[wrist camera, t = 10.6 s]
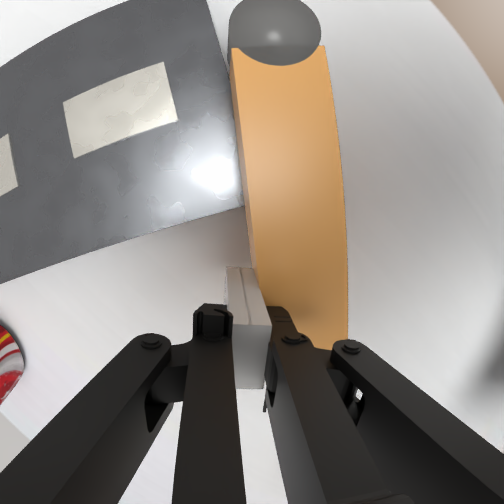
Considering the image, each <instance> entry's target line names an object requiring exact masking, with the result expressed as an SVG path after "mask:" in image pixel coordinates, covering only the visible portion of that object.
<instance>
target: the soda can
mask: <svg viewBox="0 0 504 504" xmlns="http://www.w3.org/2000/svg"><path fill="white" fill-rule="evenodd" d="M23 371H24V362H23V358H22V355H21V352H20V350H19V347H18V346H17V344H16V342H15V341H14V339H13V338H12V336H11V335H10V334H9V333H8V332H7V330H6V329H5V328H3V327H2V326H1V325H0V405H1V404H2V403H3V401H4V400H5V399H6V397H7V396H8V395H9V393H10V392H11V391H12V390H13V388H14V387H15V386H16V384H17V382H18V381H19V379H20V377H21V376H22V374H23Z"/></svg>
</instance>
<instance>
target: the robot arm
mask: <svg viewBox="0 0 504 504" xmlns="http://www.w3.org/2000/svg"><path fill="white" fill-rule="evenodd" d="M264 381H266V385H267V387H266V394H265V400H264V406H263V412H266V408H268V413H269V418H270V423H271V427H272V432H273V437H274V441H275V446H276V451H277V455H278V460H279V464H280V469H281V474H282V478H283V483H284V487H285V492H286V496H287V500H288V504H504V454H503V453H501V452H500V451H499V450H498V449H496V448H495V447H494V446H493V445H491V444H490V443H489V442H487V441H486V440H485V439H484V438H482V437H481V436H480V435H478V434H477V433H476V432H475V431H473V430H472V429H471V428H469V427H468V426H467V425H466V424H464V423H463V422H462V421H461V420H459V419H458V418H457V417H455V416H454V415H453V414H452V413H450V412H449V411H448V410H447V409H445V408H444V407H443V406H441V405H440V404H439V403H438V402H436V401H435V400H434V399H433V398H431V397H430V396H429V395H427V394H426V393H425V392H424V391H422V390H421V389H420V388H419V387H417V386H416V385H415V384H413V383H412V382H411V381H410V380H408V379H407V378H406V377H405V376H403V375H402V374H401V373H399V372H398V371H397V370H396V369H394V368H393V367H392V366H391V365H389V364H388V363H387V362H386V361H384V360H383V359H382V358H380V357H379V356H378V355H377V354H375V353H374V352H373V351H372V350H370V349H369V348H368V347H367V346H365V345H364V344H362V343H360V342H357V341H355V340H350V339H346V340H339V341H336V342H335V343H334V344H333V347H332V350H326V349H320V348H316V347H314V345H313V344H312V342H311V340H310V339H309V338H308V336H306V335H304V334H302V333H299V332H298V331H297V329H296V327H295V325H294V323H293V320H292V318H291V316H290V314H289V312H288V311H287V310H286V309H284V308H283V307H281V306H265V303H264V300H263V297H262V294H261V291H260V289H259V286H258V282H257V279H256V276H255V273H254V270H253V269H252V268H237V267H227V268H226V282H225V296H224V305H223V304H207V303H204V304H203V305H202V306H200V307H199V309H198V310H196V311H195V312H194V313H193V338H192V340H191V341H189V342H187V343H184V344H179V345H171V342H170V340H169V339H168V338H167V337H165V336H162V335H159V334H154V333H147V334H143V335H139V336H137V337H135V338H134V339H133V340H132V341H130V342H129V343H128V344H127V345H126V346H125V347H124V348H123V349H122V350H121V351H120V352H119V353H118V354H117V355H116V356H115V357H114V358H113V359H112V360H111V361H110V362H109V363H108V364H107V365H106V366H105V367H104V368H103V369H102V370H101V371H100V372H99V373H98V374H97V375H96V376H95V377H94V378H93V379H92V380H91V381H90V382H89V383H88V384H87V385H86V386H85V387H84V388H83V389H82V390H81V391H80V392H79V393H78V394H77V395H76V396H75V397H74V398H73V399H72V400H71V401H70V402H69V403H68V404H67V405H66V406H65V407H64V408H63V409H62V410H61V411H60V412H59V413H58V414H57V415H56V416H55V417H54V418H53V419H52V420H51V421H50V422H49V423H48V424H47V425H46V426H45V427H44V428H43V429H42V430H41V431H40V432H39V433H38V434H37V435H36V436H35V437H34V439H33V440H32V441H31V442H30V443H29V444H28V445H27V446H26V447H25V448H24V449H23V450H22V451H21V452H20V453H19V454H18V455H17V456H16V457H15V458H14V459H13V460H12V461H11V463H9V464H8V466H7V467H6V468H5V469H4V470H3V471H2V472H1V473H0V504H118V502H119V500H120V499H121V497H122V495H123V494H124V492H125V490H126V488H127V487H128V485H129V483H130V482H131V480H132V478H133V476H134V475H135V473H136V471H137V469H138V468H139V466H140V464H141V463H142V461H143V459H144V457H145V456H146V454H147V452H148V450H149V449H150V447H151V445H152V443H153V442H154V440H155V438H156V437H157V435H158V433H159V431H160V430H161V428H162V426H163V424H164V423H165V421H166V419H167V417H168V416H169V414H170V412H171V410H172V409H173V405H174V402H181V401H183V406H182V414H181V422H180V430H179V438H178V447H177V455H176V464H175V474H174V484H173V494H172V504H246V495H245V485H244V475H243V465H242V455H241V444H240V434H239V422H238V411H237V399H236V389H263V388H264ZM358 389H359V390H360V391H361V392H362V393H363V395H362V398H361V400H359V399H358V398H357V397H356V393H357V390H358Z"/></svg>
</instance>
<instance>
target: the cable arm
mask: <svg viewBox="0 0 504 504" xmlns="http://www.w3.org/2000/svg"><path fill="white" fill-rule="evenodd" d="M320 39H321V27H320V24H319V21H318V19H317V17H316V15H315V14H314V13H313V11H312V10H311V9H310V8H309V7H308V6H307V5H306V4H304V3H303V2H301V1H300V0H243V1H242V2H240V3H239V4H238V5H237V6H236V7H235V9H234V10H233V12H232V14H231V16H230V19H229V32H228V54H227V57H228V64H229V67H230V84H231V93H232V102H233V110H234V119H235V127H236V136H237V144H238V153H239V161H240V170H241V178H242V186H243V195H244V203H245V212H246V220H247V229H248V237H249V245H250V254H251V262H252V269H253V270H254V273H255V276H256V279H257V282H258V286H259V289H260V291H261V294H262V297H263V300H264V303H265V306H281V307H283V308H284V309H286V310H287V311H288V312H289V314H290V316H291V318H292V320H293V323H294V325H295V327H296V329H297V331H298V332H299V333H302V334H304V335H306V336H308V338H309V339H310V340H311V342H312V344H313V345H314V347H316V348H320V349H326V350H332V347H333V344H334V343H335V342H336V341H339V340H346V339H348V266H347V238H346V219H345V204H344V190H343V178H342V167H341V157H340V148H339V139H338V131H337V123H336V115H335V108H334V101H333V94H332V88H331V81H330V75H329V69H328V64H327V58H326V53H325V47H324V46H318V45H319V43H320Z"/></svg>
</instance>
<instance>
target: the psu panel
mask: <svg viewBox="0 0 504 504" xmlns="http://www.w3.org/2000/svg"><path fill="white" fill-rule="evenodd" d="M241 206H245V203H244V195H243V186H242V178H241V170H240V161H239V153H238V144H237V136H236V127H235V119H234V110H233V102H232V93H231V84H230V80H229V77H228V73H227V70H226V66H225V63H224V59H223V56H222V52H221V49H220V46H219V42H218V39H217V35H216V32H215V28H214V25H213V22H212V18H211V15H210V12H209V8H208V5H207V2H206V0H129V1H126V2H123V3H121V4H118V5H115V6H113V7H110V8H108V9H105V10H103V11H101V12H98V13H96V14H94V15H92V16H89V17H87V18H85V19H83V20H81V21H79V22H77V23H74V24H72V25H70V26H68V27H66V28H65V29H63V30H61V31H59V32H57V33H55V34H53V35H51V36H50V37H48V38H46V39H44V40H42V41H41V42H39V43H37V44H36V45H34V46H32V47H31V48H29V49H27V50H26V51H24V52H23V53H21V54H19V55H18V56H16V57H15V58H13V59H12V60H10V61H9V62H7V63H6V64H5V65H3V66H2V67H0V284H2V283H5V282H7V281H10V280H13V279H15V278H18V277H21V276H23V275H26V274H29V273H32V272H34V271H37V270H40V269H43V268H46V267H48V266H51V265H54V264H57V263H60V262H63V261H65V260H68V259H71V258H74V257H77V256H80V255H83V254H86V253H89V252H92V251H95V250H98V249H101V248H104V247H107V246H110V245H113V244H116V243H120V242H123V241H126V240H129V239H132V238H135V237H138V236H142V235H145V234H148V233H151V232H155V231H158V230H161V229H165V228H168V227H171V226H175V225H178V224H181V223H185V222H188V221H191V220H195V219H198V218H202V217H205V216H209V215H212V214H216V213H219V212H223V211H227V210H230V209H234V208H238V207H241Z"/></svg>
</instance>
